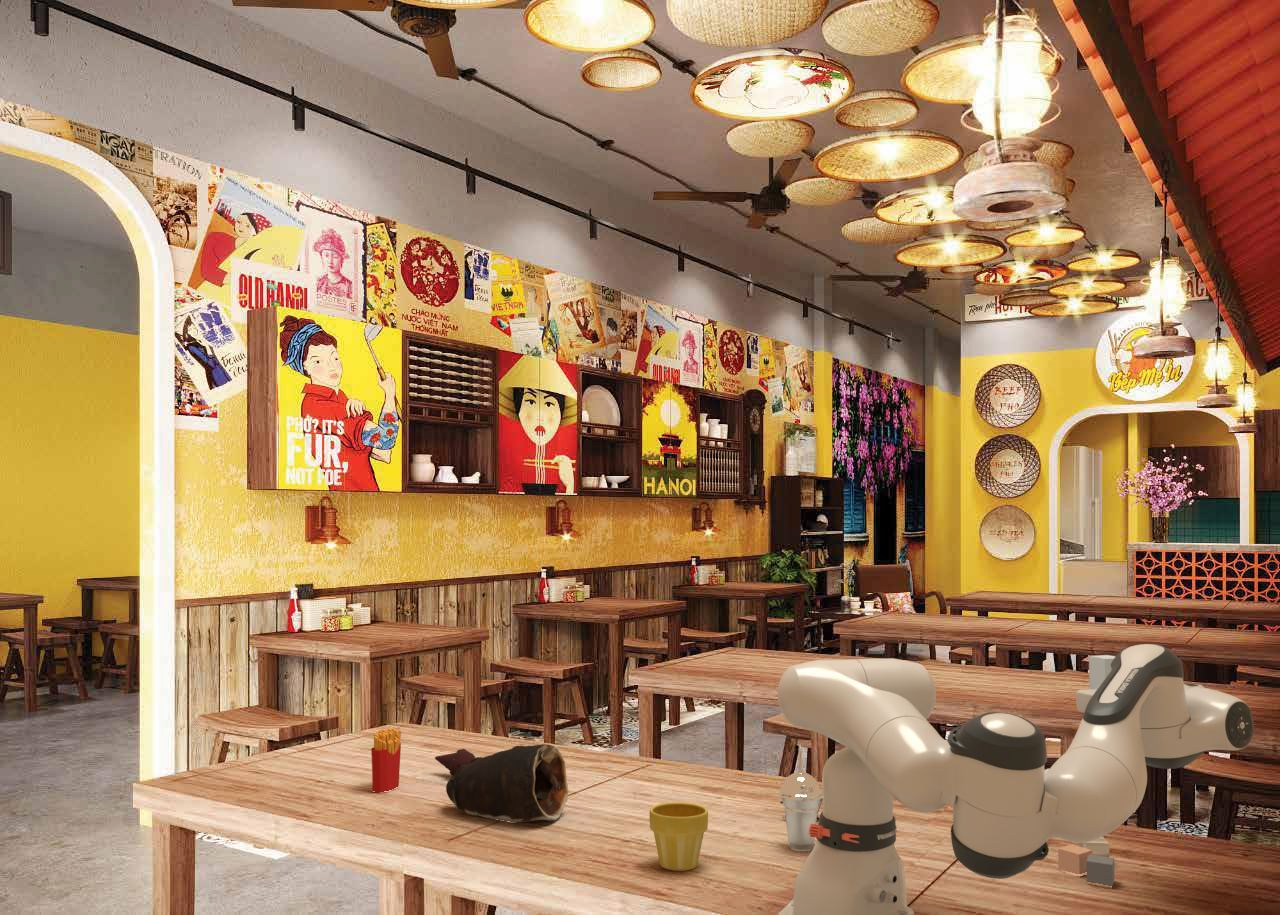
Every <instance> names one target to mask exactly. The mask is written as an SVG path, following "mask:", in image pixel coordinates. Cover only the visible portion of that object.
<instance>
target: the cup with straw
mask: <svg viewBox="0 0 1280 915" xmlns="http://www.w3.org/2000/svg"><path fill="white" fill-rule="evenodd" d="M794 748H795V749H796V750H797V751H798V771H796V772H794V773H791V774H790V775H788V776H787V777H786V778H785V779H784V782H783V784H782V786H781V787H780V788H779V789H778V793H777V794H778V796H779V797H780V798H781V799H782V801H783V808H784V813H785V816H784V817H785V824H786V833H787V842H788V843H789V844H788V845H789V846H788V848H789V849H790V850H791V851H794V852H800V853H801V852H804V853H806V852H810V851H812V850H813V848H814V843H815V838H816V837H811V836H810V835H809V833H810V832H809V828H810V825H811V824H812V823H813V824H816V825H817V821H818V820H817V817H818V814H817V811H818V808H819V803H820V799H822V798H823V795H822V788H820V785H819V782H817V779H816V778H815V777H814V776H812V775H811V774H809V773H808V772H803V746H802V744H800V743H799V744H797V745H795V747H794ZM818 812H819V811H818ZM805 851H806V852H805Z"/></svg>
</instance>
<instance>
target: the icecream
mask: <svg viewBox="0 0 1280 915" xmlns="http://www.w3.org/2000/svg"><path fill="white" fill-rule="evenodd" d="M483 757H484V756H477V757H476V756H475V755H474V754H473V753H472V752H470V751H468V750H467V749H465V748H462V749H457V751H456V752H452V753H447V754H442V755H436V756H435V757H434V759H435V761H438V763H440V764H441V765H442V766H443V767H445V768H446V769H447V770H448V771H449V774H450V775H451V778H452V777H453V776H454V775H455V774H456V772H457V770H458V769H459V768H460V767H461V766H462V765H469V764H471V763H473V762H474V761H476V760H478V759H481V758H483Z"/></svg>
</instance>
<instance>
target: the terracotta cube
mask: <svg viewBox="0 0 1280 915" xmlns="http://www.w3.org/2000/svg"><path fill="white" fill-rule="evenodd" d="M1057 852H1058V853H1057V854H1058V855H1057V856H1058V860H1057V861H1058V870H1059V869H1062V870H1065V871H1068V872H1072V873H1075V874H1082V873H1085V872H1087V867H1086V861H1087V858H1088V855H1089V854H1090V855H1092V850H1090V849H1086V848H1083V847H1080V845H1079V846H1078V845H1075V844H1073V843H1072V844H1067V845H1065V846H1062V847H1059V848H1058V850H1057Z"/></svg>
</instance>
